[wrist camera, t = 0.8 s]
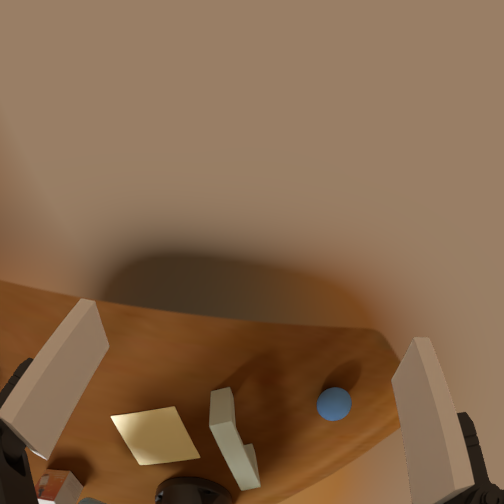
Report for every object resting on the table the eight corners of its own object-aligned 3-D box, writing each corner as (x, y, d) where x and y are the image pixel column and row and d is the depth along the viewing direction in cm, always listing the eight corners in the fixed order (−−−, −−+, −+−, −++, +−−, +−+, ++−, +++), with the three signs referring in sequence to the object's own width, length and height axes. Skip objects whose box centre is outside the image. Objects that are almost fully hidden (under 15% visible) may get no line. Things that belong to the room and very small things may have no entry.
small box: (71, 469, 43) (54, 501, 33) (84, 487, 44) (70, 518, 34) (45, 468, 43) (27, 496, 33) (58, 485, 44) (43, 513, 33)
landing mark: (200, 457, 45) (200, 457, 45) (140, 464, 44) (140, 465, 44) (174, 405, 44) (174, 406, 44) (110, 415, 43) (110, 416, 43)
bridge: (229, 386, 44) (231, 420, 35) (254, 450, 46) (260, 486, 37) (210, 391, 44) (209, 425, 35) (238, 454, 46) (241, 490, 36)
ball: (346, 402, 46) (358, 419, 41) (316, 413, 46) (325, 432, 41) (342, 376, 46) (354, 392, 40) (309, 388, 45) (319, 406, 40)
